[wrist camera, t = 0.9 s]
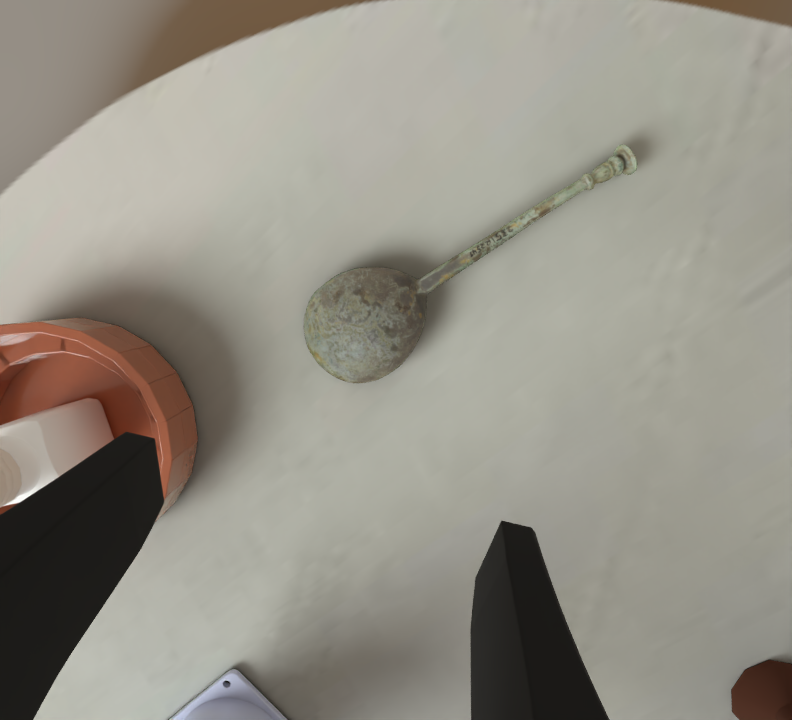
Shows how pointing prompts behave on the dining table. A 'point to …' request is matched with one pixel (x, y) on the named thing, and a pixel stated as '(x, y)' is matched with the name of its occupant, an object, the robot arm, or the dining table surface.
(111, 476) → the robot arm
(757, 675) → the brown rounded tall piece
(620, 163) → the soupspoon
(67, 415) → the pepper shaker
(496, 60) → the dining table surface
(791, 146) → the dining table surface
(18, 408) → the clay bowl
